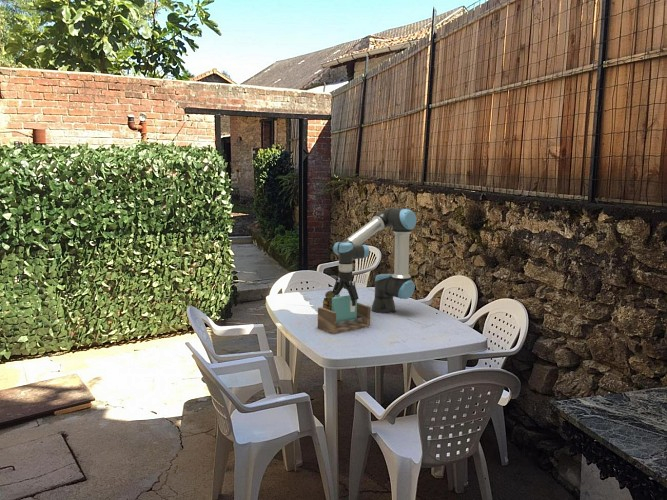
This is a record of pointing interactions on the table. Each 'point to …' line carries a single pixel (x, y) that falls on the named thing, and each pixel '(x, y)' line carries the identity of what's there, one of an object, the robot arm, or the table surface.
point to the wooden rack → (330, 325)
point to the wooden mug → (328, 300)
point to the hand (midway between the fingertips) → (344, 308)
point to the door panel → (343, 308)
